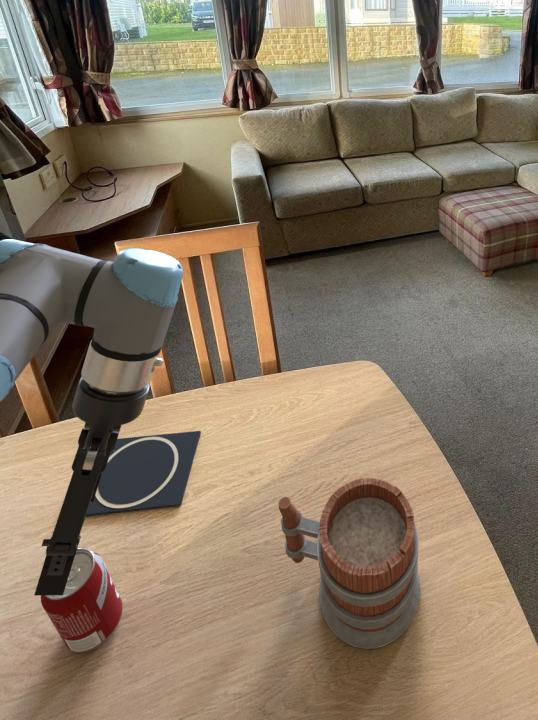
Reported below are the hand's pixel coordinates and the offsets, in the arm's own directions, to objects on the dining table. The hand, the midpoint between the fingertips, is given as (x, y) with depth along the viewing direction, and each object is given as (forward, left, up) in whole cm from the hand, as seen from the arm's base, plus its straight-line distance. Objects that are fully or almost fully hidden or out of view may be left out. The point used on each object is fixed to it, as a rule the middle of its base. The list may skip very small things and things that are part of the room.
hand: (67, 540), depth 58 cm
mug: (+34, -1, -16) cm, 37 cm away
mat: (-2, +20, -16) cm, 26 cm away
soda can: (0, -2, -16) cm, 16 cm away
